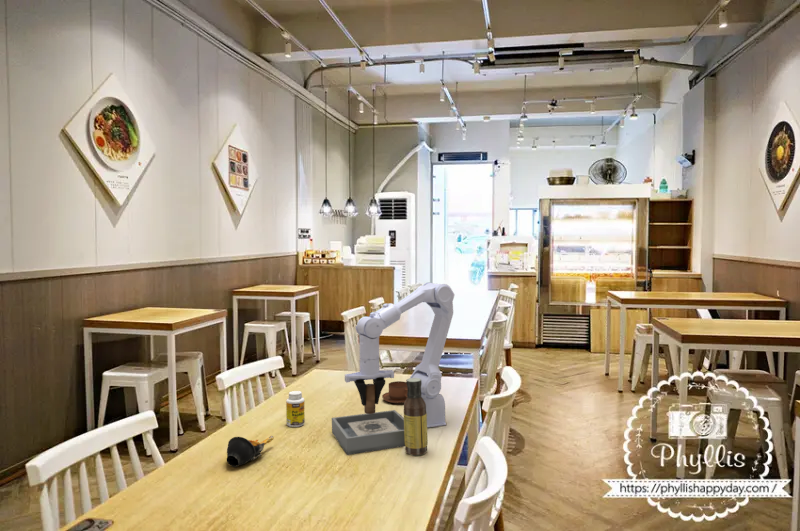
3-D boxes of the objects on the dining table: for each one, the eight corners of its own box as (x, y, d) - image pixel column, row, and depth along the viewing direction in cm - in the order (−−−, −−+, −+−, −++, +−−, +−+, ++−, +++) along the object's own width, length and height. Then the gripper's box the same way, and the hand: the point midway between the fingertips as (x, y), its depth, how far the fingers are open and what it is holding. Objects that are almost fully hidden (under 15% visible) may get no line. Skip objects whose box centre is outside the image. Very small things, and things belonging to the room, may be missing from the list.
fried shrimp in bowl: (212, 453, 134) (242, 415, 148) (232, 482, 136) (260, 442, 150) (236, 446, 131) (264, 407, 145) (256, 475, 134) (282, 435, 148)
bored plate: (385, 425, 162) (385, 417, 162) (399, 439, 151) (399, 430, 151) (347, 430, 158) (347, 422, 158) (358, 445, 147) (358, 436, 147)
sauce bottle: (420, 445, 149) (420, 375, 148) (431, 453, 143) (431, 380, 142) (400, 449, 146) (399, 377, 145) (410, 458, 140) (409, 383, 139)
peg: (373, 409, 159) (373, 383, 158) (376, 413, 156) (376, 385, 155) (363, 411, 157) (362, 384, 157) (366, 414, 154) (365, 387, 154)
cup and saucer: (421, 399, 193) (421, 382, 193) (404, 408, 183) (404, 390, 183) (394, 394, 200) (393, 378, 199) (375, 402, 189) (375, 385, 189)
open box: (394, 424, 166) (394, 410, 166) (416, 444, 149) (416, 428, 149) (331, 432, 159) (331, 417, 159) (347, 455, 143) (346, 438, 142)
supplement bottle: (290, 429, 163) (290, 396, 162) (283, 424, 167) (283, 391, 167) (307, 425, 166) (307, 393, 165) (300, 420, 170) (300, 389, 170)
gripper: (388, 353, 162) (389, 397, 163) (341, 357, 157) (342, 402, 158) (396, 358, 155) (396, 404, 156) (347, 362, 150) (348, 409, 151)
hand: (369, 403), depth 156 cm, fingers closed on peg, 3 cm apart
